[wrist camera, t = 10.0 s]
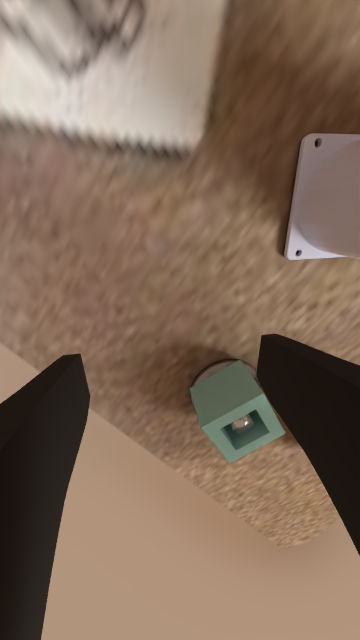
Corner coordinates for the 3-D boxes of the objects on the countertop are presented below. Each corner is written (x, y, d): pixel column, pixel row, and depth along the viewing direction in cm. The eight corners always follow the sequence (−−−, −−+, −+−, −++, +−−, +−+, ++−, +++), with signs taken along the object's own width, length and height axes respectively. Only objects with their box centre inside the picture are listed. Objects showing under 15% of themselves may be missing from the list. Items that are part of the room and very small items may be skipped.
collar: (240, 359, 22) (263, 393, 18) (260, 396, 24) (285, 433, 20) (189, 388, 22) (200, 427, 18) (214, 421, 24) (229, 463, 20)
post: (262, 355, 23) (289, 386, 19) (254, 410, 25) (276, 448, 21) (190, 363, 22) (201, 398, 18) (190, 420, 25) (200, 460, 20)
